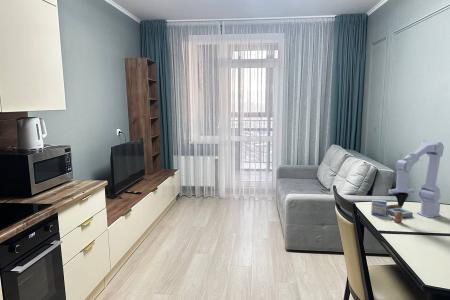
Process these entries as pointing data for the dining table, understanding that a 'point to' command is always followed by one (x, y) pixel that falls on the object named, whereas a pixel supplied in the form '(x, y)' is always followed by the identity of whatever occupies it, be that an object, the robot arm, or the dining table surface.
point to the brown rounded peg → (398, 217)
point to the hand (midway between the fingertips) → (400, 205)
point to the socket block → (404, 212)
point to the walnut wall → (393, 206)
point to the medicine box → (378, 207)
